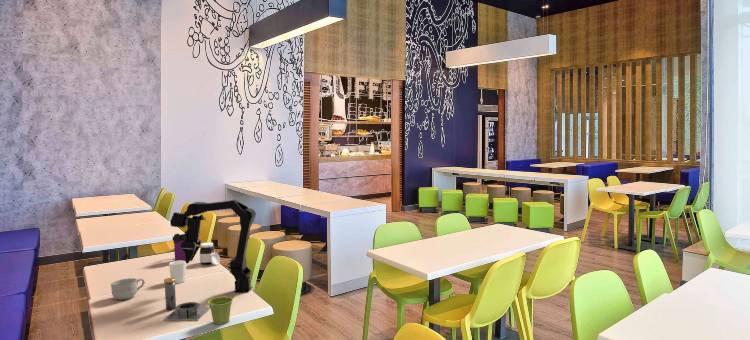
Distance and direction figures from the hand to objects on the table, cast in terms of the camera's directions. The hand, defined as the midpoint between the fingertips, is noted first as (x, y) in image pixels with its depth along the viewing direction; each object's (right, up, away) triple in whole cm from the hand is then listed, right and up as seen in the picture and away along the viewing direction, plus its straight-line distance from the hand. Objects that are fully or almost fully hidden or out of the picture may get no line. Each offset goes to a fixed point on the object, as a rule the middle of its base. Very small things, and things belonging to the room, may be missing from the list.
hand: (189, 261), depth 223 cm
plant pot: (+26, -17, -34) cm, 47 cm away
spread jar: (-8, -11, +52) cm, 54 cm away
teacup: (-27, -16, -4) cm, 31 cm away
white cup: (-13, -14, +19) cm, 27 cm away
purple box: (-28, -11, +61) cm, 68 cm away
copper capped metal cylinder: (0, -16, -20) cm, 26 cm away
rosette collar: (+10, -17, -26) cm, 32 cm away
